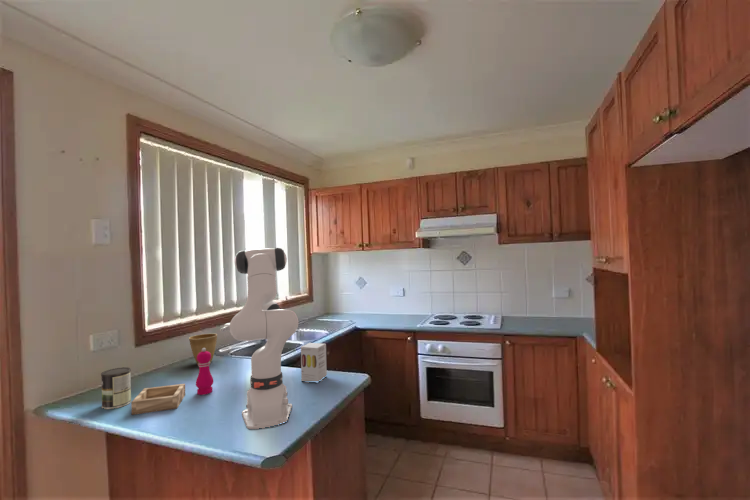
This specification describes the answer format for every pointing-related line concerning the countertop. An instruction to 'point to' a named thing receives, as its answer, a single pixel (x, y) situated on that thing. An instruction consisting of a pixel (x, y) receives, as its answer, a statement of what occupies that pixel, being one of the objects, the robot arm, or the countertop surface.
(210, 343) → the plant pot
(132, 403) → the crate
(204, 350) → the pepper mill
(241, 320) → the robot arm
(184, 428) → the countertop surface
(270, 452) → the countertop surface
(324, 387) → the countertop surface
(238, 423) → the countertop surface
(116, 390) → the coffee can
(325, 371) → the supplement box
